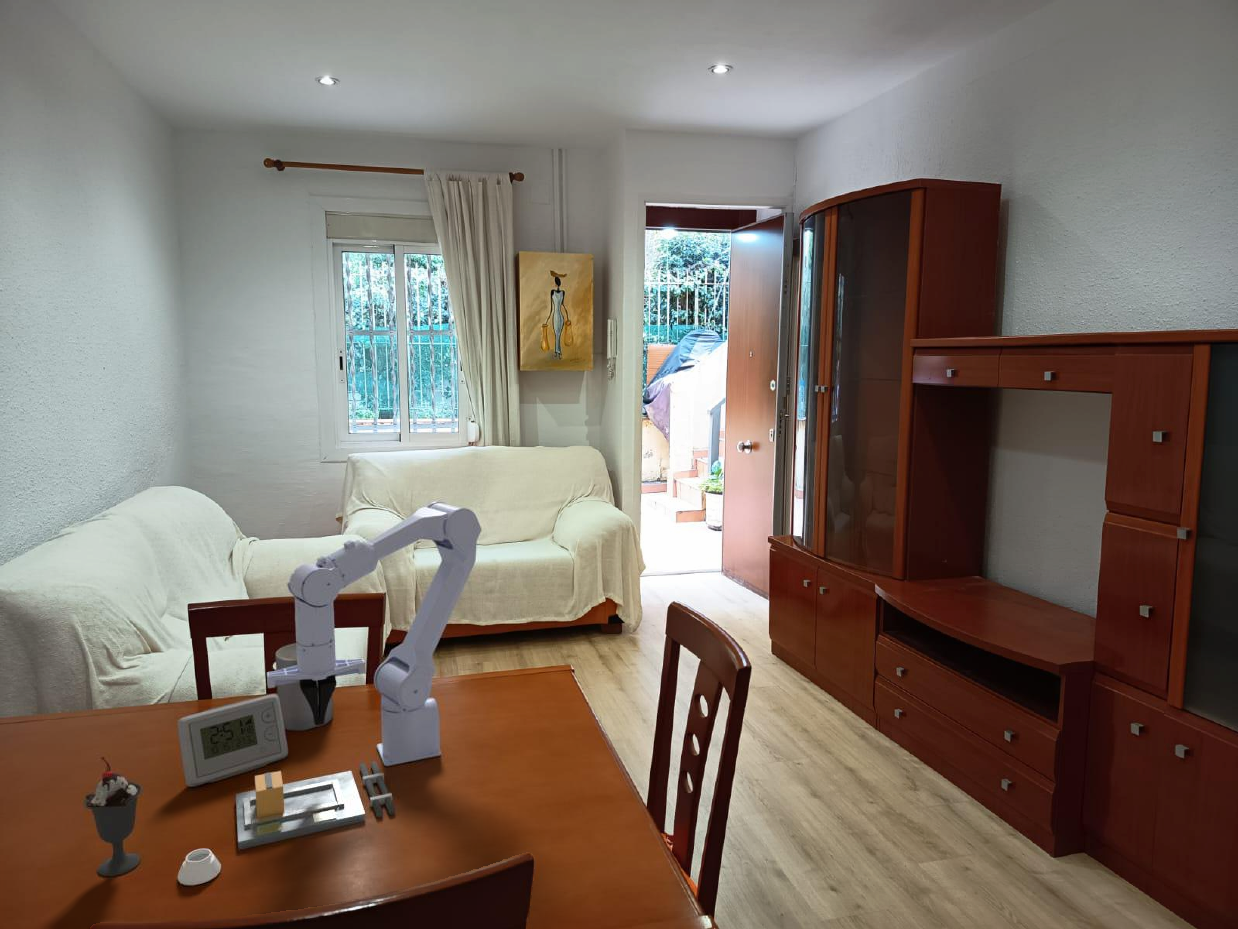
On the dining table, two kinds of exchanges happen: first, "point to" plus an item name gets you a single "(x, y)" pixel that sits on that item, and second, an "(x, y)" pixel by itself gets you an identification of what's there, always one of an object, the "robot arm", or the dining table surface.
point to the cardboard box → (269, 794)
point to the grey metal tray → (301, 810)
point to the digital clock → (231, 739)
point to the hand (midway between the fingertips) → (319, 722)
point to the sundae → (115, 819)
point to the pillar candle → (295, 696)
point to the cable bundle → (368, 781)
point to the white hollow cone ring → (199, 867)
